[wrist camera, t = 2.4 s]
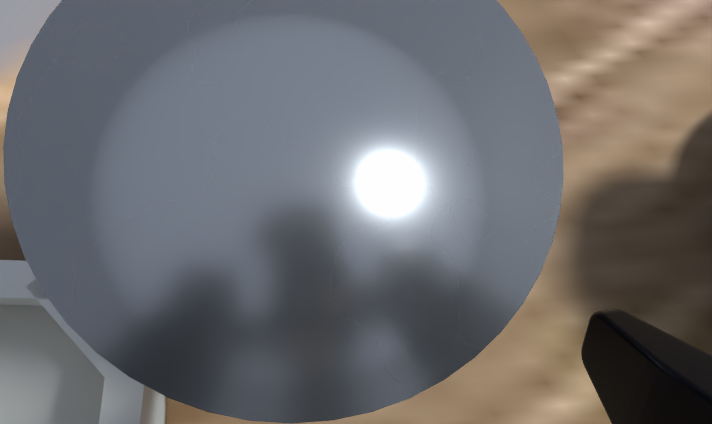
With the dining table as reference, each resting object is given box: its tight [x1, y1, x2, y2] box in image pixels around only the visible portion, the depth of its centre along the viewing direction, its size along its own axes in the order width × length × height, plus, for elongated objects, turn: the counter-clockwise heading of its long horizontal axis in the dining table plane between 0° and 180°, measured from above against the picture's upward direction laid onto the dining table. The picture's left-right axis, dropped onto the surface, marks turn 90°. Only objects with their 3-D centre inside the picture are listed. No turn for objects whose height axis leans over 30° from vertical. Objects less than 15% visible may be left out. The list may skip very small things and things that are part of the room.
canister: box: [3, 0, 563, 423], centre depth 12 cm, size 5×5×13 cm
